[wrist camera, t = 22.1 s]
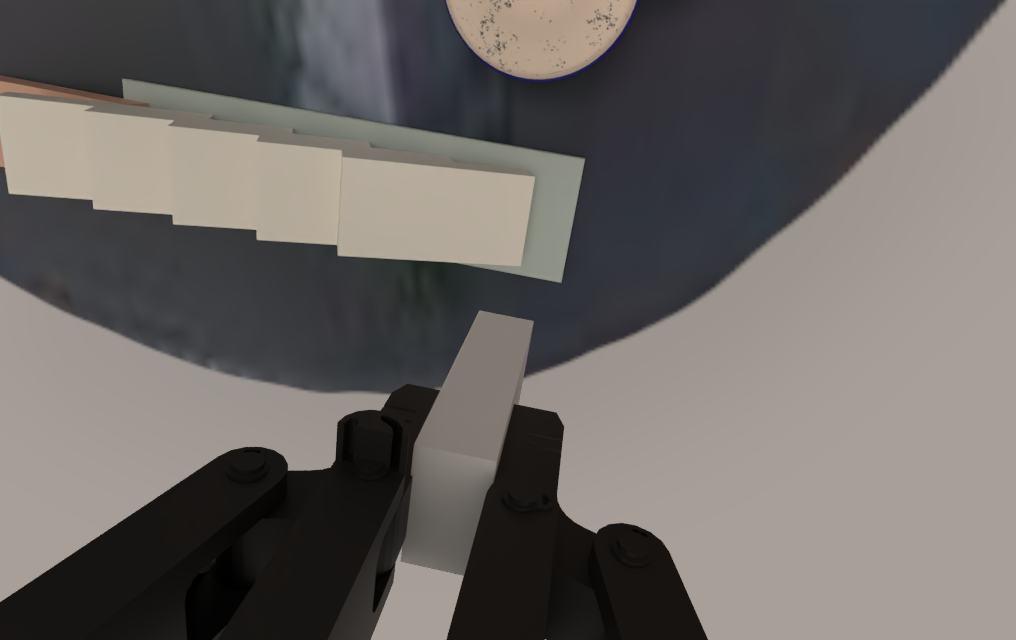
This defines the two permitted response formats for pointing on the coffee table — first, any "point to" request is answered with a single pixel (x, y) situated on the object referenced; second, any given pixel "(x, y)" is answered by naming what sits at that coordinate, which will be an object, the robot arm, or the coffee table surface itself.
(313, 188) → the domino
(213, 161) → the domino
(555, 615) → the robot arm
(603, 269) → the coffee table surface
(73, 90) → the domino
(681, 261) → the coffee table surface
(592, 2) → the teacup with lid
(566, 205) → the strip
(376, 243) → the domino
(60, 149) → the domino
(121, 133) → the domino
